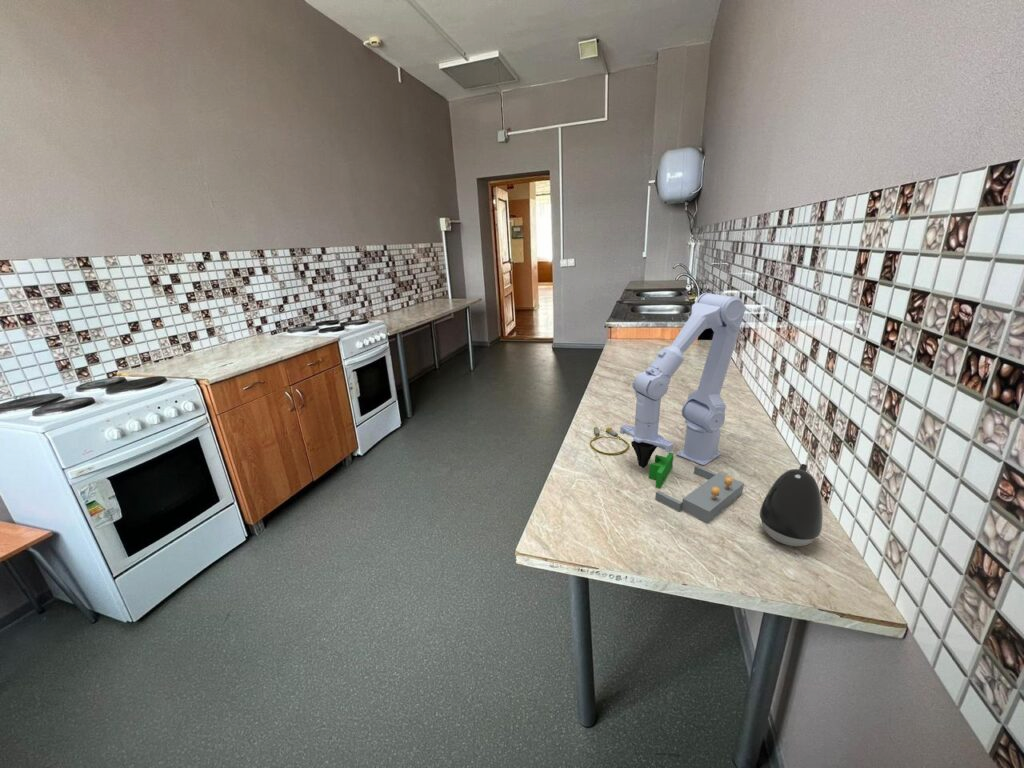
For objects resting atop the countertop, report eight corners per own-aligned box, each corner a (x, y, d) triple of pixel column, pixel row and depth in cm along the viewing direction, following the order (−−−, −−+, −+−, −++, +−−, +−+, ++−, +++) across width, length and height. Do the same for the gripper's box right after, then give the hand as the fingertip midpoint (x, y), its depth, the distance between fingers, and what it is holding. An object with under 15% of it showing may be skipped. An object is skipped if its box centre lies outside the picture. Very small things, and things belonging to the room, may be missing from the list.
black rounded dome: (820, 533, 82) (837, 468, 77) (812, 563, 75) (831, 493, 70) (763, 513, 89) (775, 451, 84) (750, 538, 81) (764, 473, 76)
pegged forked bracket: (695, 471, 105) (698, 452, 103) (744, 492, 96) (748, 471, 94) (655, 499, 95) (657, 478, 93) (705, 525, 86) (708, 502, 84)
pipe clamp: (657, 464, 109) (659, 449, 108) (672, 468, 107) (673, 453, 106) (644, 484, 101) (646, 468, 99) (660, 489, 99) (661, 472, 97)
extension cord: (633, 435, 126) (633, 429, 126) (625, 459, 113) (626, 453, 112) (594, 430, 131) (594, 424, 130) (582, 452, 117) (582, 446, 117)
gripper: (613, 414, 105) (611, 460, 110) (663, 433, 94) (658, 483, 99) (630, 407, 109) (627, 451, 114) (680, 424, 98) (674, 472, 103)
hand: (643, 465), depth 107 cm, fingers closed
